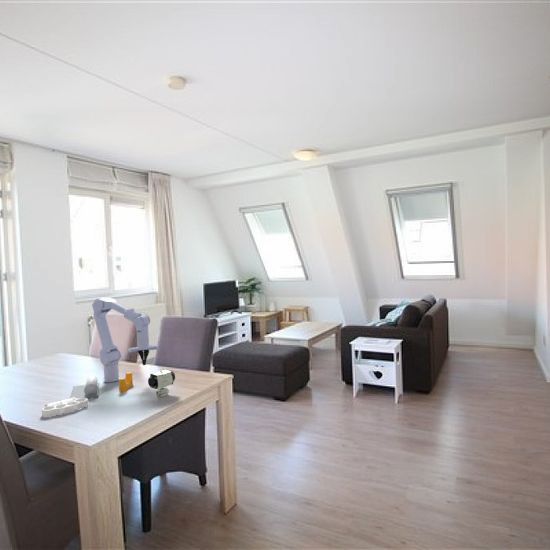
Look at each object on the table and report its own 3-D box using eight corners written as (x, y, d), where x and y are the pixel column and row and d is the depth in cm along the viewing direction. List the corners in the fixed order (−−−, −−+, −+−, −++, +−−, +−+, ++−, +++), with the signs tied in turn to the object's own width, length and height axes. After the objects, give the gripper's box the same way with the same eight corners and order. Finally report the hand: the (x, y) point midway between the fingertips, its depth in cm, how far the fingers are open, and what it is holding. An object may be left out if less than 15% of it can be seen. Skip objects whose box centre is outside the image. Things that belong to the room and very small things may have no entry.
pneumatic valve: (148, 398, 185) (147, 372, 185) (170, 391, 194) (169, 366, 193) (155, 400, 181) (153, 374, 181) (177, 393, 190) (176, 368, 190)
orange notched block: (124, 384, 208) (123, 372, 207) (132, 384, 208) (132, 372, 207) (115, 392, 196) (115, 379, 195) (124, 392, 196) (124, 379, 195)
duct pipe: (73, 388, 204) (72, 376, 204) (99, 384, 209) (98, 372, 208) (69, 402, 184) (68, 388, 183) (98, 397, 188) (97, 384, 188)
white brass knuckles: (81, 401, 186) (92, 409, 175) (37, 412, 174) (46, 421, 163) (80, 393, 186) (92, 401, 175) (36, 404, 173) (45, 413, 163)
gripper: (128, 341, 202) (129, 368, 203) (158, 338, 208) (159, 364, 208) (127, 339, 209) (129, 365, 209) (156, 336, 214) (158, 361, 215)
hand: (144, 364), depth 209 cm, fingers closed
